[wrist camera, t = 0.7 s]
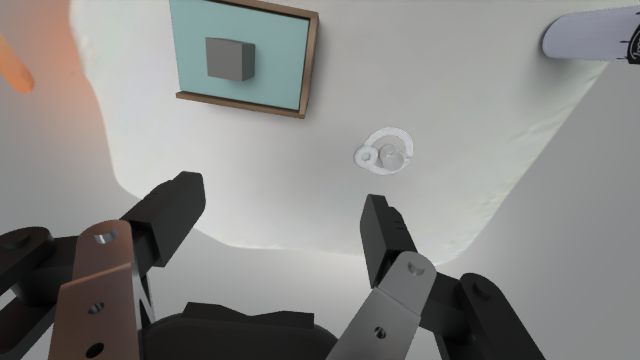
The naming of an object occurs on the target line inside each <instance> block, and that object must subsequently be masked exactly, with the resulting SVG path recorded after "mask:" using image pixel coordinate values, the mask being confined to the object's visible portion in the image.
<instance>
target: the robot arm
mask: <svg viewBox="0 0 640 360" xmlns="http://www.w3.org/2000/svg"><path fill="white" fill-rule="evenodd" d="M205 204H206V199H205V191H204V184H203V177H202V175H201V174H200V173H195V172H187V171H182V172H181V173H180V174H179V175H177V176H176V177H175V178H174V179H173V180H168V181H166V182H164V183H162V184H160V185H158V186H157V187H156V188H154V189H153V190H152V191H151V192H150V194H148V195H146V196H145V197H144V199H143V200H141V201H140V202H138V203H137V204H136V205H135V206H134V207H133V208H132V209H130V210H129V211H128V212H127V213H126V214H125V215H124V216H122V217H121V218H120V219H119V220H108V221H104V222H100V223H98V224H95V225H93V226H91V227H89V228H87V229H86V230H85V231H83V232H82V233H81V234H80V235H79V236H70V237H60V238H53V237H52V235H51V233H50V232H49V230H48V229H46V228H44V227H26V228H21V229H17V230H14V231H11V232H8V233H5V234H3V235H1V236H0V296H1V295H2V294H3V293H5V292H6V291H7V290H8V289H9V288H10V289H11V290H12V291H13V292H14V293H15V295H16V297H15V298H14V299H13V300H12V301H11V302H10V303H9V304H7V305H6V306H5V307H4V308H3V309H2V310H1V311H0V360H20V359H21V358H22V357H23V356H24V355H25V354H26V353H27V352H28V351H29V349H30V348H31V347H32V346H33V345H34V344H35V343H36V342H37V341H38V339H39V338H40V337H41V336H42V335H43V334H44V333H45V332H46V330H47V329H48V328H49V327H50V326H51V324H53V323H54V325H53V331H52V337H51V343H50V349H49V355H48V360H405V357H406V355H407V352H408V350H409V348H410V345H411V342H412V340H413V338H414V335H415V333H416V330H417V328H418V326H420V327H422V328H425V329H427V330H429V331H431V332H433V333H434V336H435V340H436V343H437V346H438V349H439V352H440V355H441V358H442V360H546V359H545V358H544V356H543V355H542V353H541V352H540V350H539V349H538V347H537V345H536V344H535V342H534V341H533V339H532V338H531V336H530V335H529V333H528V332H527V330H526V328H525V327H524V325H523V324H522V322H521V321H520V319H519V318H518V316H517V315H516V313H515V311H514V310H513V308H512V307H511V305H510V304H509V302H508V301H507V299H506V298H505V296H504V295H503V293H502V292H501V290H500V289H499V288H498V287H497V286H496V285H495V284H494V283H493V282H491V281H490V280H488V279H487V278H485V277H483V276H481V275H478V274H475V273H465V274H463V276H462V277H461V278H460V280H458V279H455V278H452V277H450V276H446V275H444V274H441V273H439V272H437V271H436V269H435V267H434V265H433V264H432V263H431V262H430V261H429V260H428V259H427V258H426V257H424V256H423V255H421V254H419V253H418V251H417V249H416V247H415V245H414V242H413V240H412V238H411V236H410V233H409V231H408V230H407V227H406V224H404V220H403V218H402V215H401V214H400V213H399V212H398V211H397V210H396V209H395V208H394V207H389V206H388V203H387V201H386V198H385V196H382V195H373V194H368V196H367V199H366V202H365V206H364V209H363V213H362V216H361V220H360V233H361V238H362V243H363V249H364V254H365V259H366V264H367V270H368V274H369V280H370V285H371V289H373V290H372V292H371V293H370V295H369V296H368V298H367V299H366V300H365V302H364V303H363V305H362V306H361V308H360V309H359V311H358V312H357V314H356V315H355V317H354V318H353V319H352V321H351V322H350V324H349V325H348V327H347V329H346V330H345V331H344V333H343V334H342V336H341V337H340V339H337V338H336V337H335V336H334V335H333V334H332V333H330V332H329V331H328V330H326V329H324V328H323V327H321V326H319V325H316V324H314V313H304V312H293V311H279V312H273V313H267V314H261V315H255V316H247V315H245V314H242V313H240V312H237V311H235V310H232V309H229V308H227V307H224V306H222V305H216V304H205V303H194V302H188V303H187V305H186V307H185V309H184V311H183V313H178V314H174V315H171V316H168V317H165V318H162V319H160V320H158V321H156V319H155V314H154V308H153V301H152V295H151V289H150V283H149V277H148V273H147V272H148V271H149V269H150V268H151V267H152V266H154V267H165V266H166V264H167V263H168V261H169V260H170V259H171V257H172V256H173V254H174V253H175V251H176V250H177V248H178V247H179V246H180V244H181V243H182V241H183V240H184V239H185V237H186V236H187V234H188V233H189V232H190V230H191V229H192V227H193V226H194V224H195V223H196V222H197V220H198V219H199V217H200V216H201V215H202V213H203V211H204V209H205Z"/></svg>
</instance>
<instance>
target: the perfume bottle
mask: <svg viewBox="0 0 640 360" xmlns="http://www.w3.org/2000/svg"><path fill="white" fill-rule="evenodd" d="M543 51H544V53H545V54H546V55H547V56H548V57H551V58H562V59H578V60H595V61H611V62H628V63H629V64H639V65H640V5H637V6H628V7H620V8H612V9H604V10H596V11H588V12H579V13H572V14H567V15H565V16H563V17H561V18H559V19H558V20H557V21H556V22H554V23H553V24H552V25H551V27H550V28H549V29H548V31H547V33H546V34H545V37H544V40H543Z"/></svg>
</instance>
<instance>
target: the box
mask: <svg viewBox="0 0 640 360" xmlns="http://www.w3.org/2000/svg"><path fill="white" fill-rule="evenodd" d="M204 1H209V2H214V3H219V4H224V5H229V6H235V7H240V8H245V9H250V10H255V11H260V12H265V13H270V14H275V15H280V16H286V17H291V18H296V19H301V20H306V21H309V27H308V35H307V44H306V52H305V61H304V69H303V78H302V86H301V95H300V103H299V109H298V110H295V109H290V108H284V107H278V106H272V105H266V104H260V103H254V102H248V101H242V100H236V99H230V98H224V97H218V96H212V95H206V94H200V93H195V92H189V91H183V90H182V91H181V92H178V93H176V98H180V99H186V100H192V101H198V102H204V103H210V104H216V105H222V106H228V107H234V108H240V109H246V110H252V111H258V112H264V113H270V114H276V115H282V116H288V117H294V118H300V119H304V117H305V113H306V109H307V105H308V99H309V91H310V84H311V76H312V69H313V62H314V54H315V47H316V39H317V32H318V25H319V15H318V12H313V11H308V10H303V9H298V8H293V7H288V6H283V5H278V4H273V3H268V2H263V1H258V0H204Z"/></svg>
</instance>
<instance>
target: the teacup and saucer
mask: <svg viewBox="0 0 640 360" xmlns="http://www.w3.org/2000/svg"><path fill="white" fill-rule="evenodd" d="M385 135H395V136H398V137H400V138H401V139H402V140H403V141H404V143H405V146H406V153H405V154H404V153H401V152H400V151H399V150H398V149H397V148H396V147H394V146H392V145H386V146H384V147H383V148H382V149H381V151H380V159H381V162H382V165H383V167H384V168H379V167H377V166H375V165H374V164H375V163H376V161H377V159H378V152H377V150H376V149H375V148H374V147H373V146H372V144H373V143H374V142H375V141H376V140H377V139H378V138H380V137H382V136H385ZM413 151H414V145H413V141H412V139H411V137H410V136H409V134H408V133H407V132H405V131H404V130H402V129H399V128H395V127H388V128H383V129H380V130H378V131H376V132H374V133H373V134H372V135H370V136H369V137H368V139H367V140H366V141H365V143H364V145H363V147H361V148H359V149H358V150H357V152H356V154H355V163H356V164H357V165H358V166H359V167H361V168H367V169H368V170H369V171H371V172H373V173H375V174H378V175H390V174H394V173H396V172H398V171H400V170H402V169H403V168H404V167H405V166H406V165H407V164H408V163H409V162H410V161H411V158H412V155H413ZM390 153H393V154H392V155H391V156H388V157H386V156H387V155H388V154H390ZM369 154H370V157H369Z"/></svg>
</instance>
